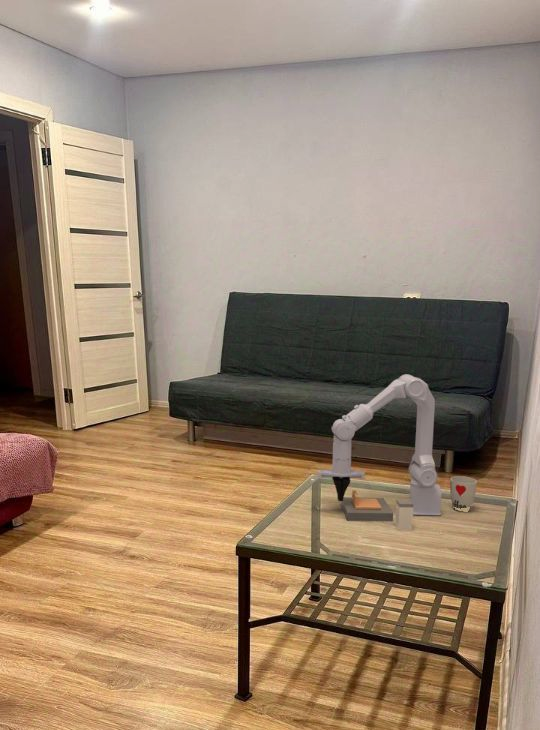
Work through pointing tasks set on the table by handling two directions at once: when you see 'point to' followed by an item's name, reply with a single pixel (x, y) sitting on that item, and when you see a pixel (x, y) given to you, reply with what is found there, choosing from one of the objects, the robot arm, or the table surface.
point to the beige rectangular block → (404, 514)
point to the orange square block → (364, 502)
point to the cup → (462, 491)
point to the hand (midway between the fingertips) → (340, 500)
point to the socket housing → (366, 511)
